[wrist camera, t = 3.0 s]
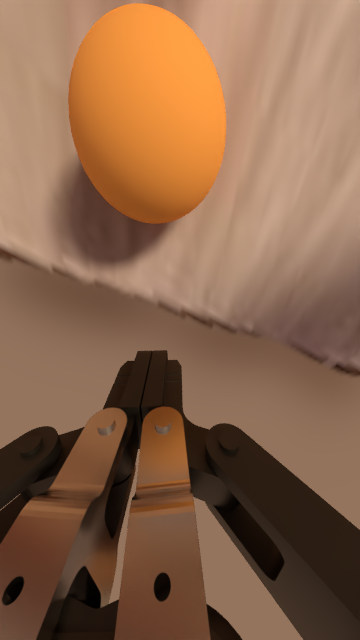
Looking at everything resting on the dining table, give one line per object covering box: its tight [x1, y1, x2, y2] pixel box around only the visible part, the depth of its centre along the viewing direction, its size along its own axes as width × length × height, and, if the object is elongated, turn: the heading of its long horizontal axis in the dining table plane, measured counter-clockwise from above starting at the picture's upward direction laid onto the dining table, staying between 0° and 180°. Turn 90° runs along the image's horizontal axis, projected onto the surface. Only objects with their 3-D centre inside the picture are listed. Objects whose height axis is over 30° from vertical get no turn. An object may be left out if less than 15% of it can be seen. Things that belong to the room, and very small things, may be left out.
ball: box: [68, 3, 226, 224], centre depth 8 cm, size 6×6×6 cm
